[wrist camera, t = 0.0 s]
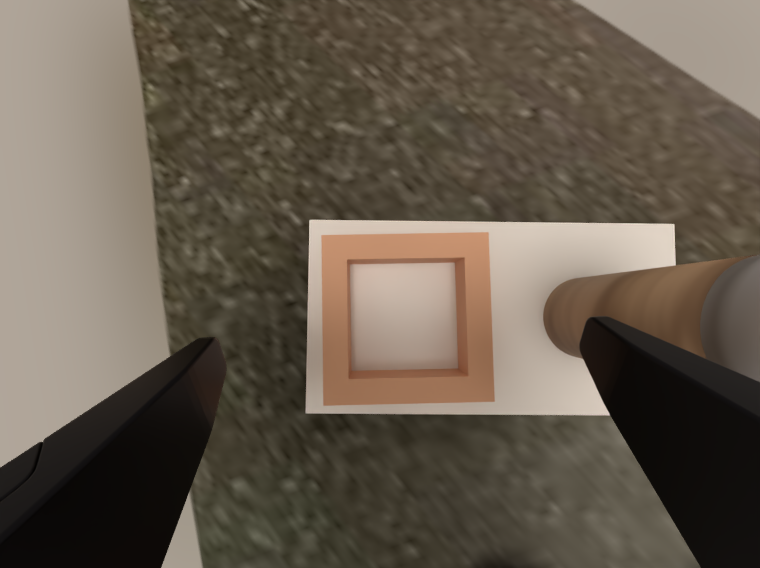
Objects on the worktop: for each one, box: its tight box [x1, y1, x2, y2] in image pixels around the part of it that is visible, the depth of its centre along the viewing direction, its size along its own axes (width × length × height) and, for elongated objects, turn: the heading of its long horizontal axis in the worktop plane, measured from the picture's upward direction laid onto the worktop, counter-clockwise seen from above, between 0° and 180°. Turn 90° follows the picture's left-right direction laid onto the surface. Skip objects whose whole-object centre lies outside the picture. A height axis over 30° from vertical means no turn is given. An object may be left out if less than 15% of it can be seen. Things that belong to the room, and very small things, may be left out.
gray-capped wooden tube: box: [543, 255, 760, 382], centre depth 17 cm, size 5×5×12 cm
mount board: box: [306, 220, 676, 415], centre depth 23 cm, size 23×12×1 cm, turn 89°
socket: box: [321, 232, 495, 406], centre depth 21 cm, size 9×9×2 cm
